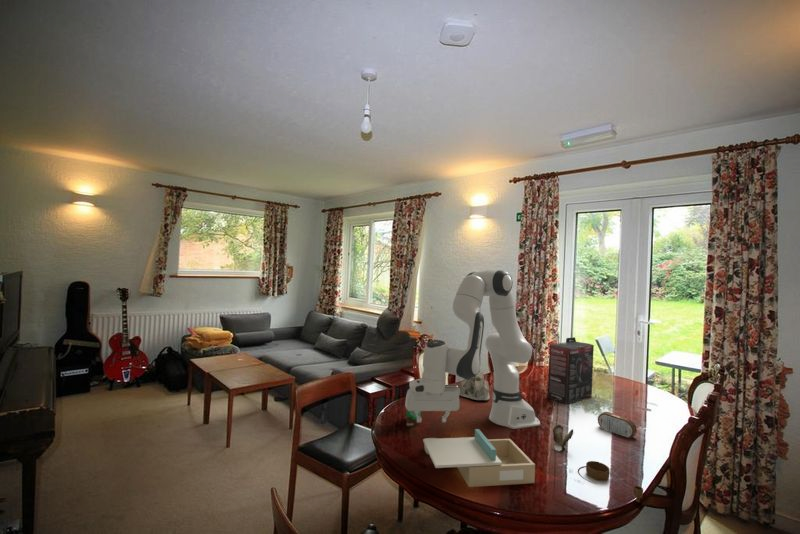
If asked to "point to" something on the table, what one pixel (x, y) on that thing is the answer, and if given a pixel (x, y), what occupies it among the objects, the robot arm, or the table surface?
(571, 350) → the headset box
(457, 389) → the robot arm
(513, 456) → the box
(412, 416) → the food container
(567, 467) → the table surface
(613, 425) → the tin
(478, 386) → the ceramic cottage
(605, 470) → the place setting
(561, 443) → the eagle figurine
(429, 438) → the cube
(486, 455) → the lid
